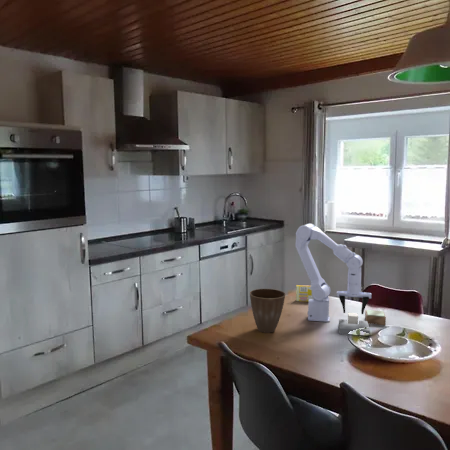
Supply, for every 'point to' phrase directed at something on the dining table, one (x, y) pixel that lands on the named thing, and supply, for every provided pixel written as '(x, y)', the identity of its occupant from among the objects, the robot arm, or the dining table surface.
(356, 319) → the cream block
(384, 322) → the walnut stand
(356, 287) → the robot arm
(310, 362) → the dining table surface
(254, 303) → the plant pot
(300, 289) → the candy box
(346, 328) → the slate notch board
